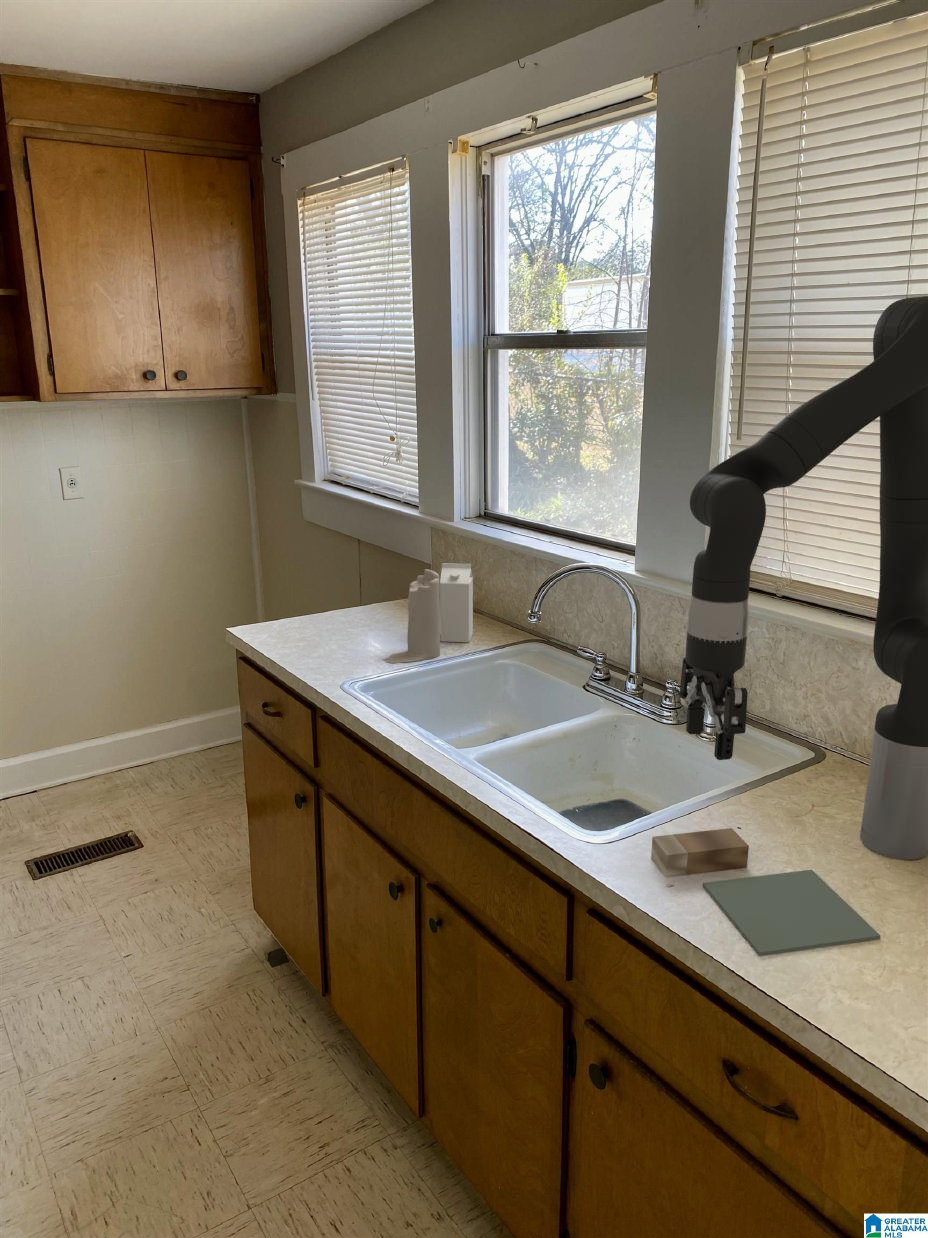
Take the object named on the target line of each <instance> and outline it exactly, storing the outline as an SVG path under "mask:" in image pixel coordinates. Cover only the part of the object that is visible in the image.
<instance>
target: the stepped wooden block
mask: <svg viewBox="0 0 928 1238" xmlns="http://www.w3.org/2000/svg"><path fill="white" fill-rule="evenodd" d="M651 839H652V841H651V851H650V852H651V854H650V855H651V856H650V859H651V861H652V862H653V863H654V864H655V866H656V868H658V870H659V871H660V872H661V873H662V875H663V876H664V877H665V878H667V879H668V878H673V877H681V876H691V875H698V874H699V875H700V874H706V873H714V872H715V873H716V872H723V871H725V872H726V871H733V870H740V869H747V868H748V859H749V851H750V850H749V849H750V847H749V844H748V843H747V842H746V841H745V840H744V839H743V838H742V837H741V836H740V834H738V833H737V832H736V831H735V830H734V829H733V827H729V828H727V827H726V828H719V829H718V828H717V829H711V830H702V831H701V830H699V831H693V832H685V833H684V832H683V833H673V834H665V835H657V836H656V835H655V836H652V838H651Z"/></svg>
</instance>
